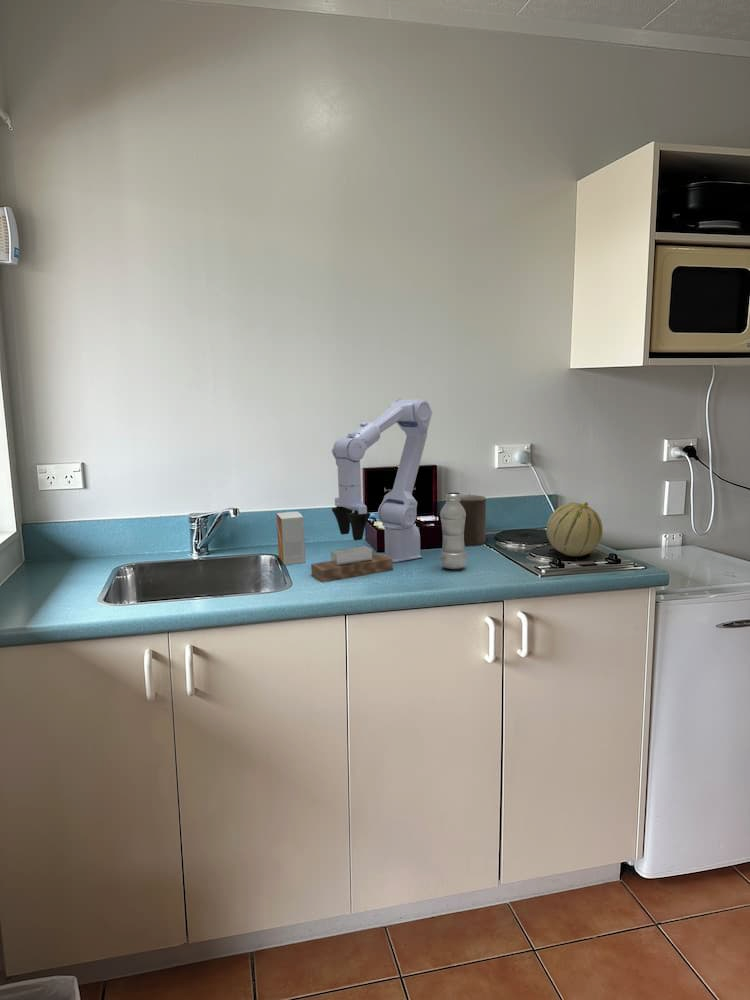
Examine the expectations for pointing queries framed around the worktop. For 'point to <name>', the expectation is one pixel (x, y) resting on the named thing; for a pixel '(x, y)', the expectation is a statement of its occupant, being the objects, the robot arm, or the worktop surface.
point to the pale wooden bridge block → (351, 556)
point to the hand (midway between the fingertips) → (351, 536)
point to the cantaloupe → (574, 529)
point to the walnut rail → (351, 568)
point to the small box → (291, 538)
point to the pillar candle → (474, 519)
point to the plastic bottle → (453, 532)
